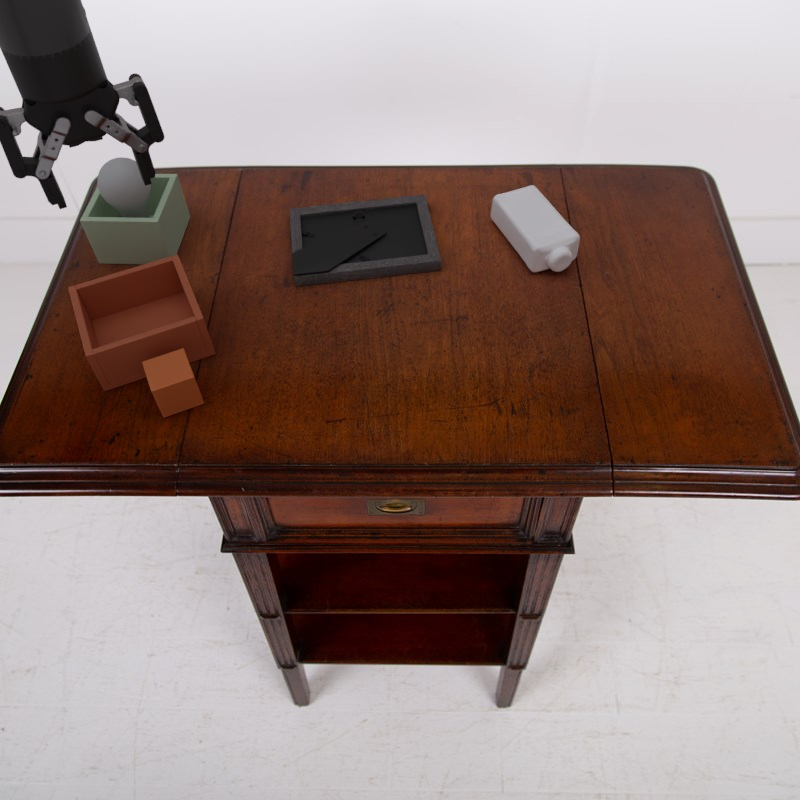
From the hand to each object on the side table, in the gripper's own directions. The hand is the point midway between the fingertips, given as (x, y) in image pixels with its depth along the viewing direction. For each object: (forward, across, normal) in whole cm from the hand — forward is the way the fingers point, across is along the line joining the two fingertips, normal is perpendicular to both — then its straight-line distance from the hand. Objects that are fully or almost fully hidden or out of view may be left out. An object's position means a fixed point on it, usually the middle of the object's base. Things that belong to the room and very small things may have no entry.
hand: (105, 192), depth 77 cm
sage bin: (+17, +3, +14) cm, 22 cm away
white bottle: (+17, +47, -10) cm, 51 cm away
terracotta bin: (+17, -1, -4) cm, 18 cm away
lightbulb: (+16, +3, +14) cm, 22 cm away
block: (+17, 0, -14) cm, 22 cm away
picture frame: (+17, +28, 0) cm, 32 cm away
